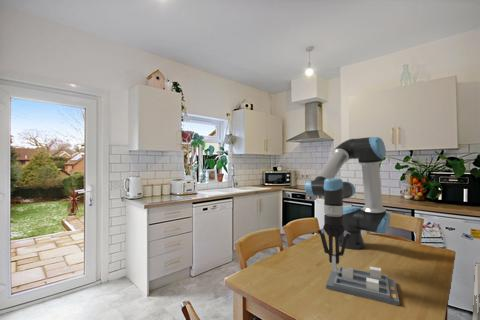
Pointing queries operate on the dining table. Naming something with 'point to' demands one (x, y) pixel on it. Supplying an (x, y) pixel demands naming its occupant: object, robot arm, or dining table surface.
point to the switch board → (364, 286)
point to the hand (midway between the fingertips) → (334, 270)
